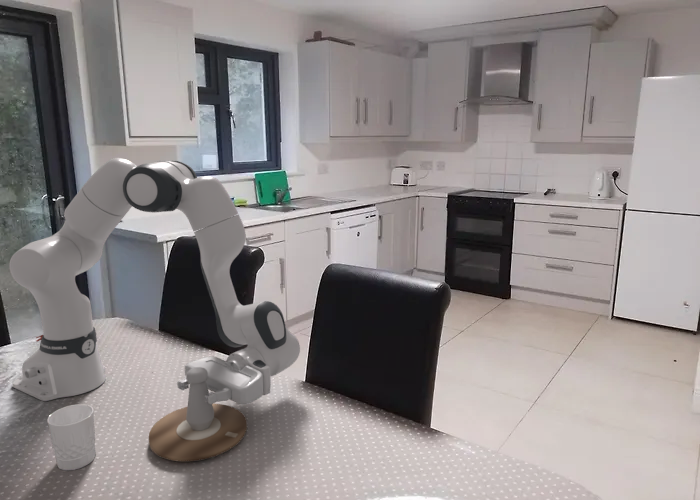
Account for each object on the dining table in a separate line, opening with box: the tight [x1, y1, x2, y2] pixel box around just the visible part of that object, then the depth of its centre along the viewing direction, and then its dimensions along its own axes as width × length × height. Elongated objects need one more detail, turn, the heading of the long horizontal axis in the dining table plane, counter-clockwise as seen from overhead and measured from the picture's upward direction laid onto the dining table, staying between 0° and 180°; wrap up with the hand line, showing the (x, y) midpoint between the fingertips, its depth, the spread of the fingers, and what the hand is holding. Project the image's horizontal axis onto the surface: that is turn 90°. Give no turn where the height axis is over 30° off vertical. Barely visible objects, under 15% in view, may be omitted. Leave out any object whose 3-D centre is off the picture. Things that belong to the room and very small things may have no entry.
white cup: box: [46, 403, 96, 471], centre depth 99 cm, size 8×8×10 cm
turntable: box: [148, 403, 248, 462], centre depth 108 cm, size 20×20×1 cm
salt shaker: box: [186, 367, 214, 431], centre depth 107 cm, size 6×6×13 cm
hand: (192, 393), depth 105 cm, fingers open, 8 cm apart
